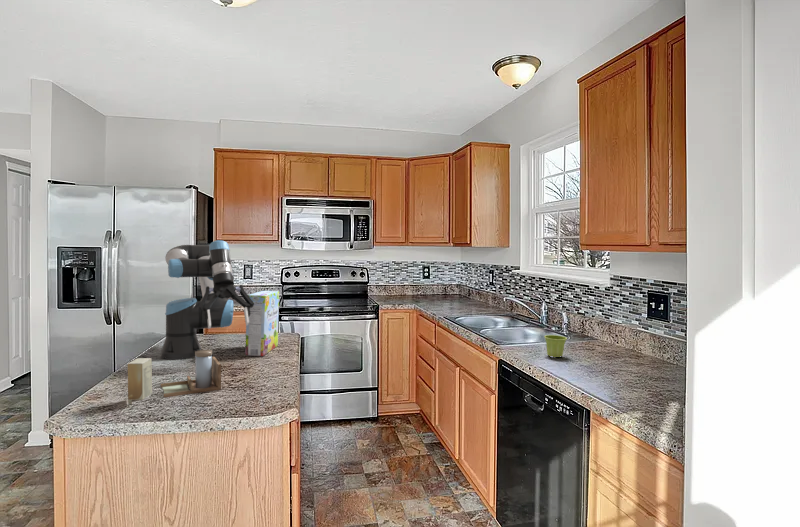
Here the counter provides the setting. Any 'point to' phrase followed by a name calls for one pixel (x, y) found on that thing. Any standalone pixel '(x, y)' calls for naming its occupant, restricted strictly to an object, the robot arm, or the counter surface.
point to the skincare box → (139, 379)
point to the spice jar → (203, 368)
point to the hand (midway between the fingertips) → (229, 325)
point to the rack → (182, 388)
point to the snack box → (262, 323)
